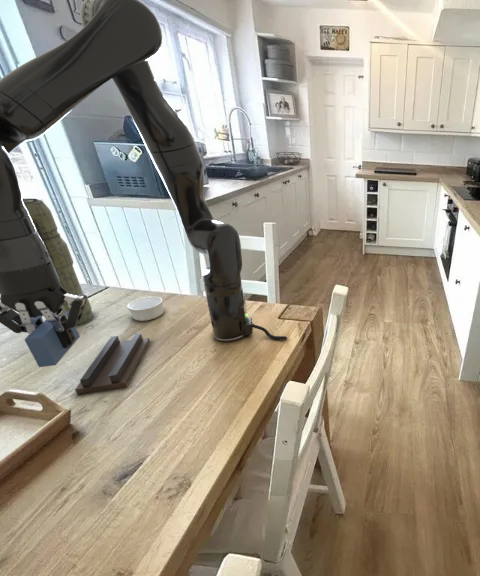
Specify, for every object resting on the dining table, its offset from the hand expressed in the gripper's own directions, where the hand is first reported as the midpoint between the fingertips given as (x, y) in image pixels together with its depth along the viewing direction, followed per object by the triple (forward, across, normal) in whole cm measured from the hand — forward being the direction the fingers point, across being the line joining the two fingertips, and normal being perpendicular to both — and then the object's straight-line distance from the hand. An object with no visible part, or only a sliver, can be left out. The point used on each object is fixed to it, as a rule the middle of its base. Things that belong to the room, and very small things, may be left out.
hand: (58, 346), depth 61 cm
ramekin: (+16, +1, +39) cm, 42 cm away
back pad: (+1, 0, 0) cm, 1 cm away
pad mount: (+16, +1, +14) cm, 21 cm away
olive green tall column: (+16, -18, +40) cm, 47 cm away
